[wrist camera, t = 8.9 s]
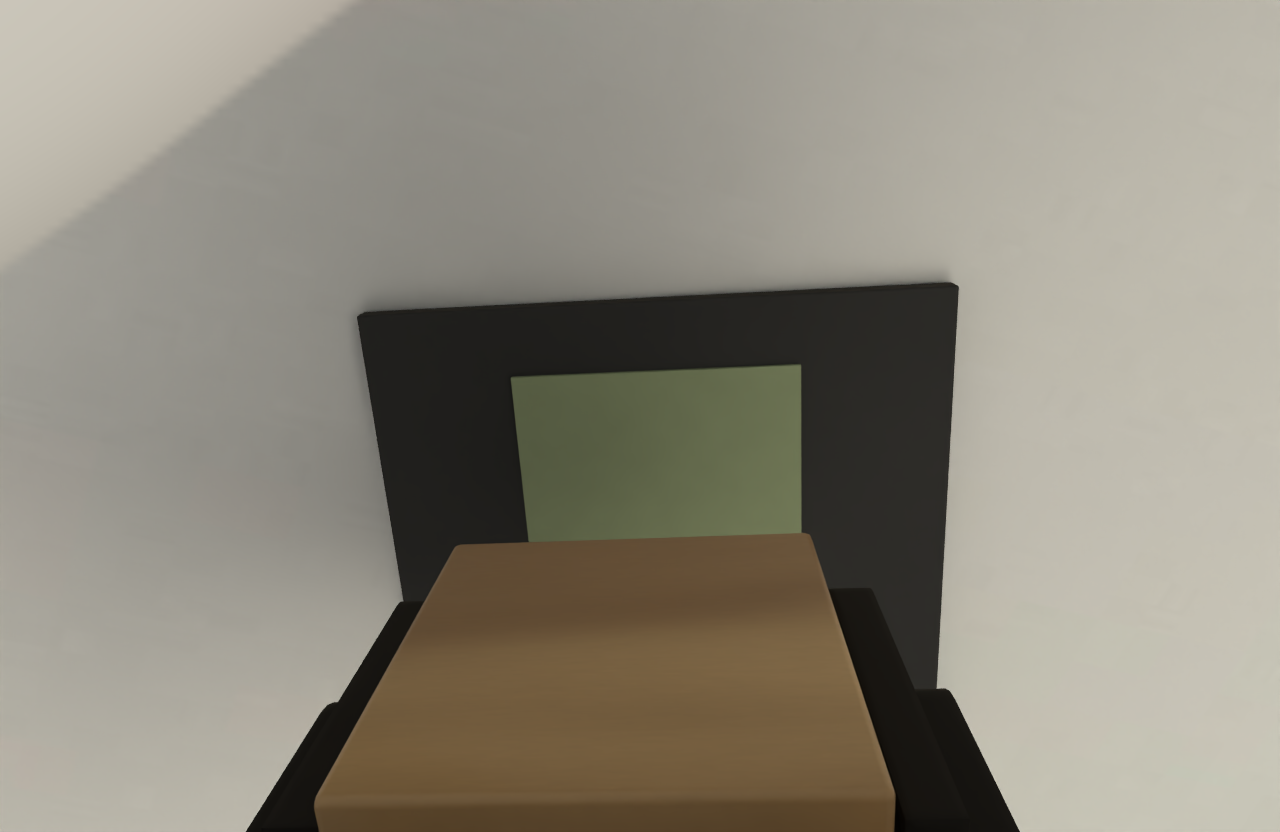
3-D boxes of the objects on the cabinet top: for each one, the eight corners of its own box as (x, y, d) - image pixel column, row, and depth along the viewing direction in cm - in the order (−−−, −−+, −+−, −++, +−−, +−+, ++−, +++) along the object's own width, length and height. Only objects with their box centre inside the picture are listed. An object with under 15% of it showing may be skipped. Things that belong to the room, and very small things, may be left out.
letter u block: (454, 541, 11) (302, 811, 6) (811, 529, 11) (902, 803, 6) (493, 826, 12) (389, 1206, 8) (810, 822, 12) (885, 1214, 8)
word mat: (363, 311, 16) (353, 317, 16) (953, 281, 16) (961, 286, 15) (501, 1167, 24) (497, 1187, 23) (905, 1174, 23) (910, 1196, 22)
